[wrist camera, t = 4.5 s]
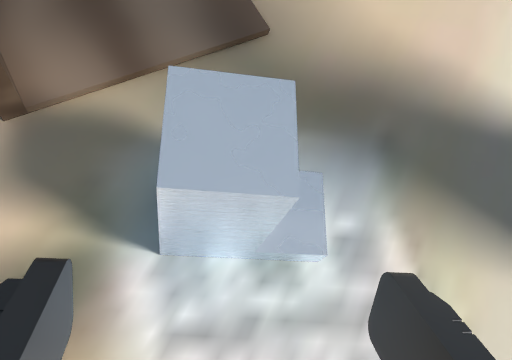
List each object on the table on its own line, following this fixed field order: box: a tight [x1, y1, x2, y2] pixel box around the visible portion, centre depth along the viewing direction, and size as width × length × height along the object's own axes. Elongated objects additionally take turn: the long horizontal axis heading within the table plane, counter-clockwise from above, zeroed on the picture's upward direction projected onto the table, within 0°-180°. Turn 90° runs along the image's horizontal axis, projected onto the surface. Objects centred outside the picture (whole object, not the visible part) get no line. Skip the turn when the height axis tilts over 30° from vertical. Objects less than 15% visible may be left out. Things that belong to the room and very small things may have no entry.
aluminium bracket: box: [156, 66, 327, 262], centre depth 18 cm, size 8×4×9 cm, turn 90°
